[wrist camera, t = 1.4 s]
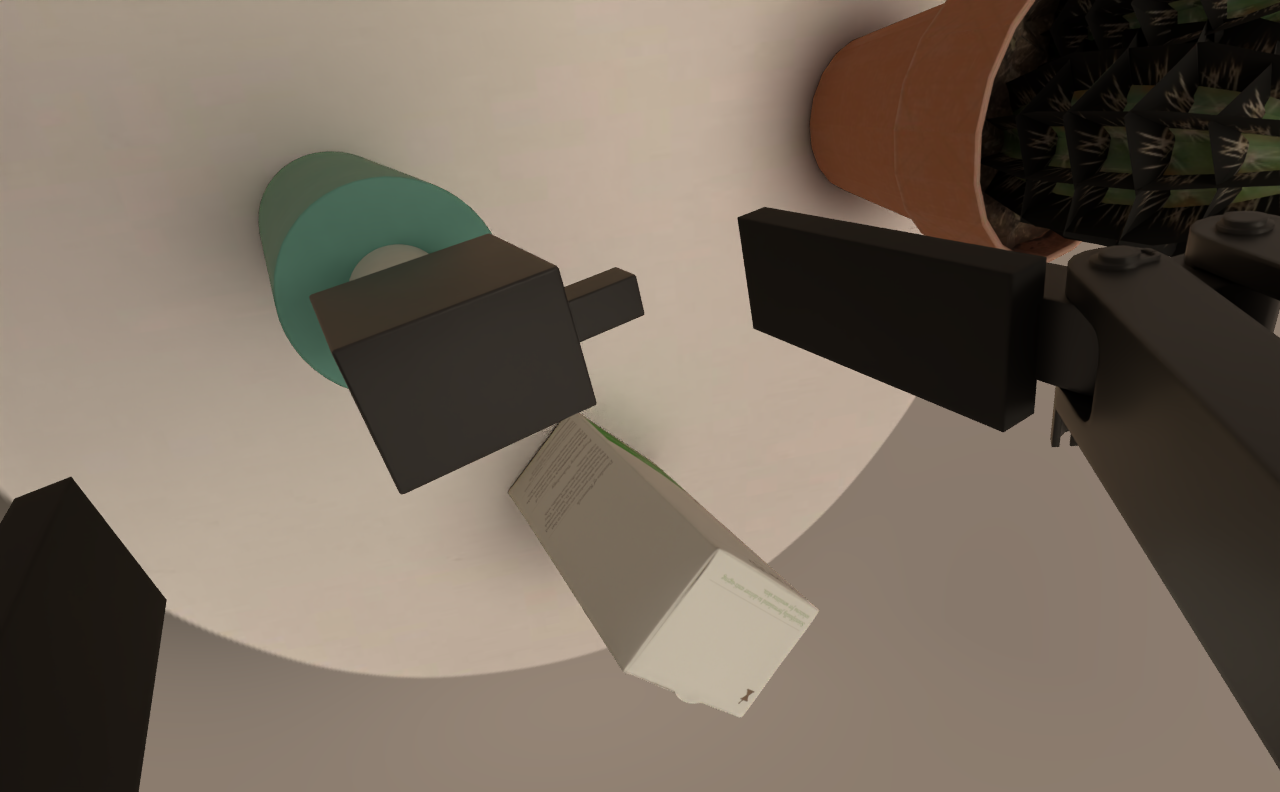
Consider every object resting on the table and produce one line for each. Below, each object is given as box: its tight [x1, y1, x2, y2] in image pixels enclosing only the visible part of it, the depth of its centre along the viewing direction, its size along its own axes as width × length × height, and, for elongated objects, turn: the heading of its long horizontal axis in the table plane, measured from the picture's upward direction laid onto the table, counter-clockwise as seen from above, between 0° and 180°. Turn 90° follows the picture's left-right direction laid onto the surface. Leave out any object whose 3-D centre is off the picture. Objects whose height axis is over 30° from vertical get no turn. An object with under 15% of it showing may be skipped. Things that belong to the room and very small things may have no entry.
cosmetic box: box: [509, 413, 819, 718], centre depth 35 cm, size 8×7×16 cm
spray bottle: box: [258, 152, 644, 494], centre depth 22 cm, size 7×6×21 cm
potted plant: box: [810, 0, 1280, 263], centre depth 32 cm, size 14×14×25 cm
